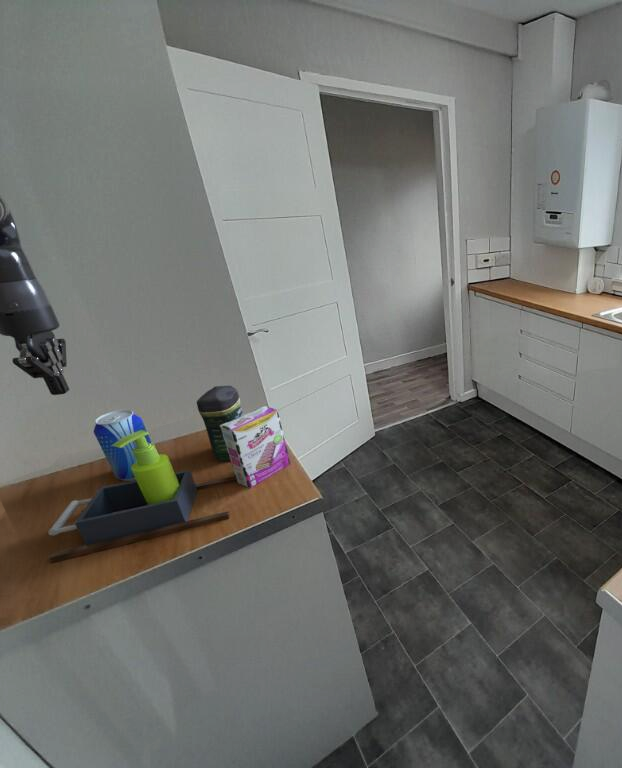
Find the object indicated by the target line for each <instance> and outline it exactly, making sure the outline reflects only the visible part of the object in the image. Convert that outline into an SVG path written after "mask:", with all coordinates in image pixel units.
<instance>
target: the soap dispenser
mask: <svg viewBox="0 0 622 768" xmlns="http://www.w3.org/2000/svg"><path fill="white" fill-rule="evenodd" d="M146 435H150V431H144V430H140V431H137V432H135V433H132V434H130V435H127V436H125V437H123V438H122V439H120V440H118V441H117V442H116V443H114V444H113V445H112V446H115V447H119V448H122V447H124V446H125V445H127V444H128V443H130V442H132V441H134V442H135V444H136V446H137V447H136V448H134V449H133V454H134V456H135V458H136V460H137V462H135V463H134V464H133V465H132V466H131V470H132V472H133V474H134V476H135V478H136V481H137V483H138V485H139V487H140V489H141V491H142V493H143V495H144V498H145V500H146V502H147V504H146V505H151V504H155V503H160V502H165V501H169V500H173V499H174V497H175V495H176V492H177V490H178V487H179V485H180V484H179V482H178V480H177V477H176V475H175V473H176V472H175V470H174V467H173V465H172V463H171V461H170V458H169V456H168V455H167V454H165V453H158V450H157V448H156V446H155V444H154V443H153V442H152V443H147V441H146V438H145V436H146Z"/></svg>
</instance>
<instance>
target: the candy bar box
mask: <svg viewBox="0 0 622 768" xmlns="http://www.w3.org/2000/svg"><path fill="white" fill-rule="evenodd" d="M220 428H221V432H222V434H223V438H224V441H225V444H226V447H227V451H228V453H229V457H230V460H231V461H230V463H231V466H232V470H233V473H234V476H236V479H237V481H236V482H237V484H239V485H241V486H243V487H245V488H247V489H249V490H250V489H252V488H254V487H256V486H257V485H259V484H260V483H262V482H264V481H265V480H267V479H269V478H270V477H272V476H274V475H275V474H278V473H279V472H280V471H281V470H283V469H285V468H287V467H288V466H290V465H291V460H290V456H289V452H288V448H287V443H286V439H285V435H284V431H283V426H282V423H281V418H280V415H279V410H278V409H277V408H276V409H275V408H273V407H270V406H267V405H265V406H264V405H263V406H261V407H259V408H256V409H254V410H252V411H249V412H248V413H246V414H243V416H241V417H238V418H236V419H234V420H231V421H229V422H227V423H224V424H222V425H220Z"/></svg>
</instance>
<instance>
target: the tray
mask: <svg viewBox="0 0 622 768" xmlns="http://www.w3.org/2000/svg"><path fill="white" fill-rule="evenodd" d="M175 475H176V477H177V480H178V482H179V484H180V485H179V487H178V490H177V492H176V495H175V497H174V499H173V500H169V501H165V502H160V503H155V504H151V505H148V504H147V502H146V500H145V498H144V495H143V493H142V491H141V489H140V487H139V485H138V483H137V481H136V480H134V481H124V482H120V483H115V484H111V485H105V486H101V487H99V488H98V489H97V490H96V492H95V494H94V495H93V497H91V498H87V499H82V500H71V501H70V503H69V504H68V505H67V507H65V509H64V510H63V511H62V513H61V514H60V516H59V517H58V519H56V521H55V522H54V524H53V525H52V526H51V527H50V529H49V530H48V532H47V533H48V535H49V536H56V535H58V534H61V533H65V532H70V531H74V530H77V531H78V532H79V534H80V536H81V538H82V540H83V542H84V543H85V545H89V544H93V543H97V542H102V541H106V540H110V539H114V538H118V537H123V536H127V535H131V534H135V533H139V532H144V531H148V530H152V529H156V528H160V527H165V526H169V525H173V524H177V523H181V522H185V521H189V520H188V519H189V517H190V514H191V511H192V508H193V506H194V502H195V500H196V496H197V494H198V490H197V488H196V482H195V480H194V477H193V474H192V471H191V469H187V470H182V471H181V470H180V471H176V472H175ZM82 505H86V506H85V507H84V508H85V509H84V508H83V509H84V511H83V512H82V511H81V513H80V515H79V517H78V518H77V519H76V521H74V524H70V525H67V526H66V524H67V523H68V521H69V519H70V518H71V517H72V516H73V515H74V512H76V510H77V508H79V506H82ZM129 508H130V509H129Z"/></svg>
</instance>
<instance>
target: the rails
mask: <svg viewBox="0 0 622 768" xmlns="http://www.w3.org/2000/svg"><path fill="white" fill-rule="evenodd" d="M236 482H237V479H236V476H235V475H233V476H230V477H224V478H220V479H215V480H211V481H210V480H209V481H205V482H201V483H195V485H196V488H197V491H201V490H206V489H209V488H215V487H219V486H223V485H227V484H231V483H236ZM85 508H86V507H83V509H82V510H81V513H82V512H83V511H84V509H85ZM230 518H231V513H230V511H229V510H228V511H224V512H219V513H216V514H211V515H207V516H203V517H199V518H198V517H197V518H194V519H191V520H187V521H185V522H181V523H177V524H173V525H169V526H165V527H160V528H156V529H152V530H148V531H144V532H139V533H135V534H131V535H127V536H123V537H118V538H114V539H110V540H106V541H102V542H97V543H93V544H89V545H86V544H85V545H82V546H78V547H77V546H76V547H73V548H69V549H65V550H60V551H56V552H52V553H51V554H50V555H49V557H48V559H49V561H50V562H51V563H56V562H60V561H63V560H67V559H68V560H69V559H72V558H76V557H80V556H84V555H88V554H92V553H93V554H94V553H97V552H101V551H104V550H108V549H112V548H117V547H121V546H124V545H130V544H133V543H138V542H141V541H146V540H150V539H153V538H154V539H155V538H157V537H161V536H165V535H170V534H174V533H178V532H181V531H186V530H190V529H194V528H198V527H203V526H206V525H210V524H214V523H219V522H222V521H225V520H226V521H227V520H229V519H230Z"/></svg>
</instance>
